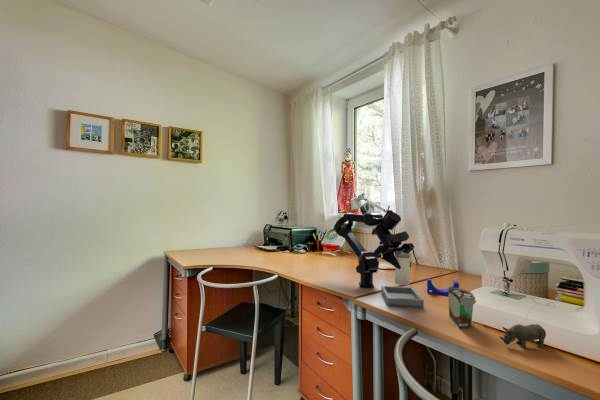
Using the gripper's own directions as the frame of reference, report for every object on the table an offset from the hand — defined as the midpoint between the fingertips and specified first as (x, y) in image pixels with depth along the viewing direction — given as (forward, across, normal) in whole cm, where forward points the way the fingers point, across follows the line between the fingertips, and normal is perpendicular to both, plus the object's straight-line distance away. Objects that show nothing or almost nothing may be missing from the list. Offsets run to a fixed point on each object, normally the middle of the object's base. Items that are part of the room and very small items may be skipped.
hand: (405, 267), depth 112 cm
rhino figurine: (+37, +2, -19) cm, 42 cm away
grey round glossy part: (+4, 0, +6) cm, 7 cm away
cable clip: (+10, +22, +9) cm, 26 cm away
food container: (+26, +2, -7) cm, 27 cm away
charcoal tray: (+8, 0, +10) cm, 13 cm away
